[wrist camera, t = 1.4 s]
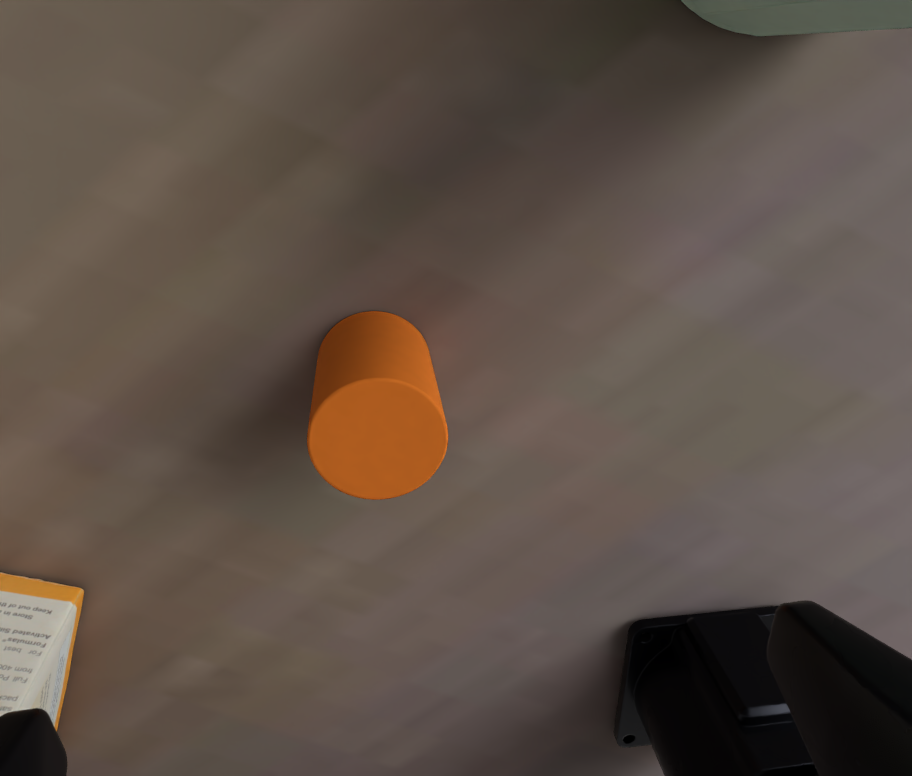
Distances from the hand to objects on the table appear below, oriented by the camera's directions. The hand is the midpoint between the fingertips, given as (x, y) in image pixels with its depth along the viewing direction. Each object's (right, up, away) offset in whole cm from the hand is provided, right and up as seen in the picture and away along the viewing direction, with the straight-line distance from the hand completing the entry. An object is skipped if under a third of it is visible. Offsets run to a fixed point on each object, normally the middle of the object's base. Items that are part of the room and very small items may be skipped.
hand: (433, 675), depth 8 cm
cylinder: (-2, +4, +11) cm, 12 cm away
